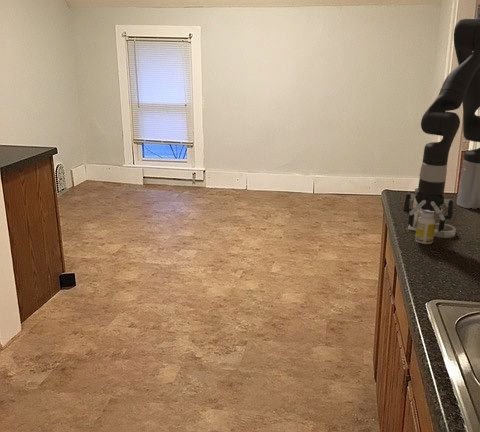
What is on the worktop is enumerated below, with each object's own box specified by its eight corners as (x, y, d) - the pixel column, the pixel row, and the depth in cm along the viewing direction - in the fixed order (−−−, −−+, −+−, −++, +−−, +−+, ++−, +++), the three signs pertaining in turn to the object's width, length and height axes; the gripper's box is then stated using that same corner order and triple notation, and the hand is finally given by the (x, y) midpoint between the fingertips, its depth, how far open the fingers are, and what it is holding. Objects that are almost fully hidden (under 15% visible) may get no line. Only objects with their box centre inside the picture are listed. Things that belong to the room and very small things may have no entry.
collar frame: (411, 224, 191) (415, 192, 187) (456, 231, 185) (461, 198, 181) (406, 231, 184) (410, 198, 180) (453, 239, 178) (458, 205, 174)
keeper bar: (423, 197, 181) (424, 191, 180) (413, 196, 182) (414, 190, 181) (431, 185, 194) (432, 180, 193) (421, 184, 195) (422, 178, 195)
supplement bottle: (433, 239, 178) (437, 210, 175) (432, 245, 173) (437, 215, 170) (415, 237, 179) (419, 207, 176) (414, 243, 175) (418, 213, 171)
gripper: (459, 178, 170) (451, 228, 175) (410, 171, 175) (404, 220, 181) (456, 184, 163) (447, 236, 169) (406, 177, 169) (399, 228, 174)
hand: (425, 228), depth 175 cm, fingers open, 8 cm apart
